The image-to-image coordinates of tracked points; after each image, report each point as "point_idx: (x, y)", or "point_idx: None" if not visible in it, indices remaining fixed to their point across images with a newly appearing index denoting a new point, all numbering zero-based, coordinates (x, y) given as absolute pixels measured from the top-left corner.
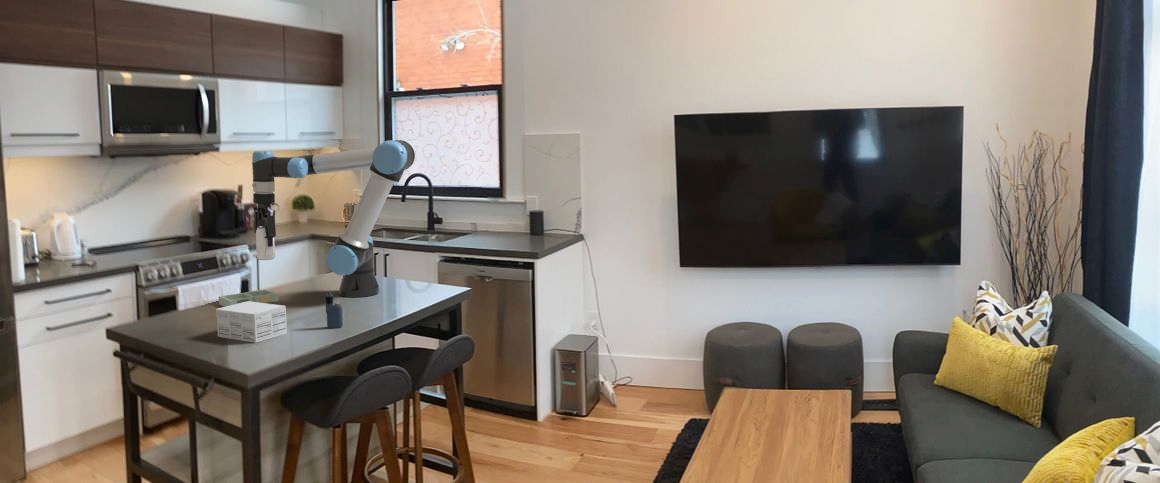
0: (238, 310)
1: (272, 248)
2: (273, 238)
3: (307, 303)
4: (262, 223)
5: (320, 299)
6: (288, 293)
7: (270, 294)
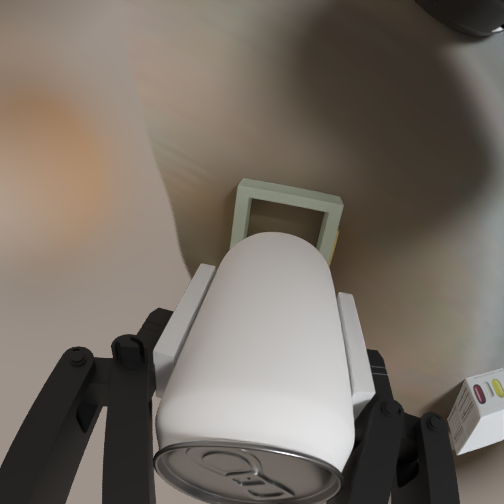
0: (495, 440)
1: (358, 329)
2: (343, 362)
3: (448, 166)
4: (151, 497)
5: (439, 98)
6: (252, 90)
7: (336, 232)
